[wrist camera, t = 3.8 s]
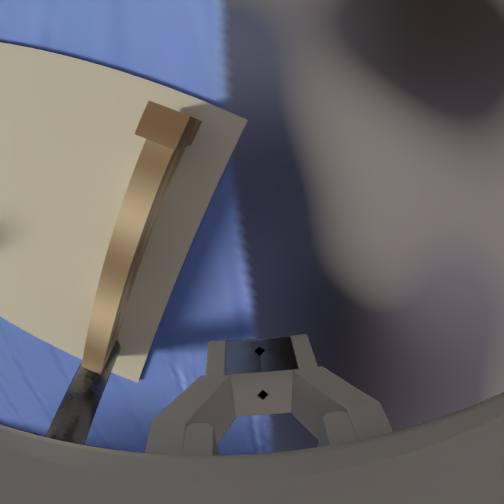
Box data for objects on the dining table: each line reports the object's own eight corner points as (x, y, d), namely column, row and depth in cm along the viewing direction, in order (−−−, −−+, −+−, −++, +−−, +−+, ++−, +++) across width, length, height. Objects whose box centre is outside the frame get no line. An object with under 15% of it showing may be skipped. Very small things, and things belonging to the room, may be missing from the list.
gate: (120, 338, 23) (98, 390, 18) (97, 329, 23) (70, 378, 17) (202, 121, 18) (190, 116, 13) (172, 109, 18) (148, 100, 12)
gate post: (121, 362, 25) (79, 485, 13) (88, 347, 24) (33, 464, 13) (129, 335, 24) (81, 466, 12) (94, 320, 23) (29, 442, 12)
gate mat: (138, 379, 26) (137, 382, 26) (-59, 272, 21) (-62, 274, 20) (247, 120, 19) (248, 120, 19) (-20, 39, 14) (-23, 39, 14)
